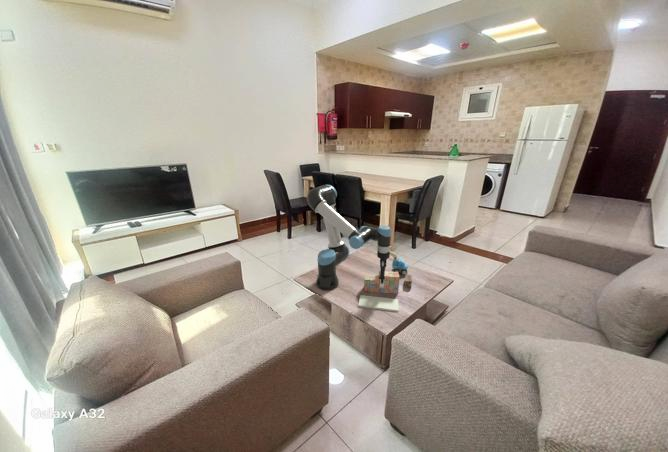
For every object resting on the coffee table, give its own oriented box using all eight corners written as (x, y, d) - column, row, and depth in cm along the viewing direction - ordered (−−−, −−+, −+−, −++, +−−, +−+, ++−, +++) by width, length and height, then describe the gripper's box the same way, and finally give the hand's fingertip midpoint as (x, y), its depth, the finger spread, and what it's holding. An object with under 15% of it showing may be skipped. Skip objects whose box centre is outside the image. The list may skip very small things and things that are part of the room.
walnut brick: (404, 287, 168) (405, 280, 166) (405, 280, 175) (405, 274, 173) (411, 288, 167) (411, 281, 165) (411, 281, 174) (411, 275, 172)
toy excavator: (384, 267, 192) (385, 247, 186) (407, 269, 189) (409, 248, 183) (384, 273, 184) (385, 252, 178) (408, 275, 181) (410, 253, 175)
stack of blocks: (364, 292, 164) (364, 275, 159) (364, 286, 170) (364, 270, 165) (398, 293, 162) (399, 276, 157) (397, 287, 168) (398, 271, 163)
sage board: (358, 306, 150) (358, 305, 150) (360, 296, 160) (360, 295, 159) (398, 311, 146) (398, 310, 145) (398, 300, 155) (398, 299, 154)
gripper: (389, 261, 143) (387, 293, 151) (390, 243, 166) (388, 271, 174) (375, 260, 145) (375, 291, 152) (378, 242, 168) (377, 270, 175)
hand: (382, 281), depth 163 cm, fingers open, 13 cm apart
